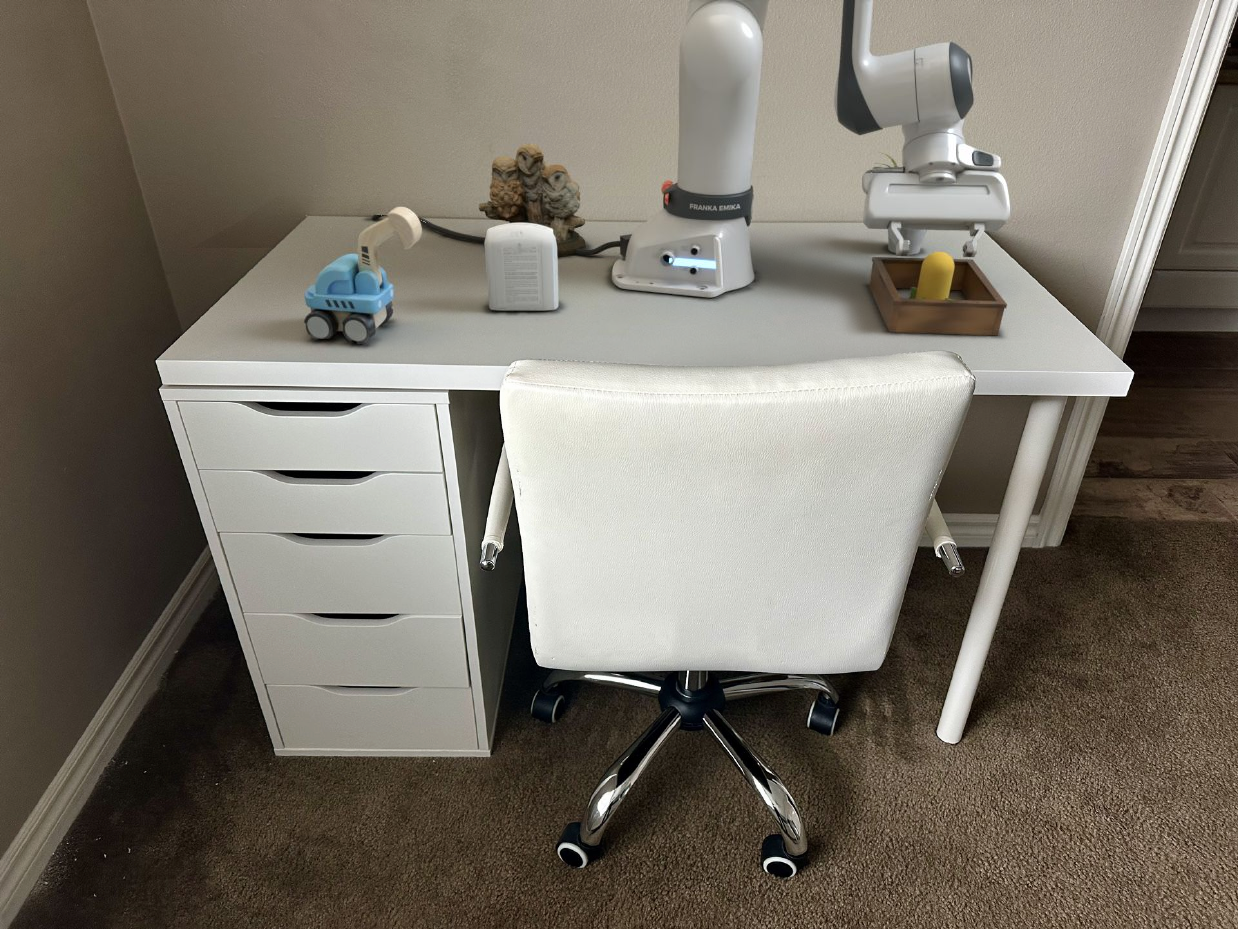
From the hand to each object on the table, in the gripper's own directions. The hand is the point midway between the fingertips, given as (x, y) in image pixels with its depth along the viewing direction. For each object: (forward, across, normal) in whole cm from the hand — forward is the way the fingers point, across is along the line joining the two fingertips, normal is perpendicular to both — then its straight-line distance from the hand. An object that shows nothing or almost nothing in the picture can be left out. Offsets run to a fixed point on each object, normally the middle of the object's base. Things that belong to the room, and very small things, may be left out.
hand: (936, 254), depth 126 cm
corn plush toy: (+7, 0, +4) cm, 8 cm away
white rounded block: (+10, -59, +1) cm, 60 cm away
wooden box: (+7, 0, +4) cm, 8 cm away
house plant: (-12, 0, +23) cm, 26 cm away
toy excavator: (+17, -78, -7) cm, 81 cm away
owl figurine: (-10, -62, +20) cm, 66 cm away
